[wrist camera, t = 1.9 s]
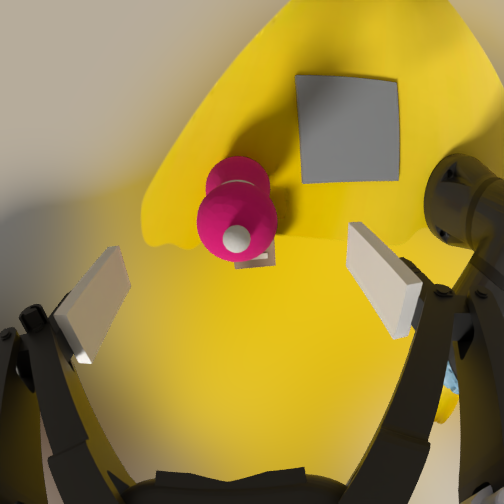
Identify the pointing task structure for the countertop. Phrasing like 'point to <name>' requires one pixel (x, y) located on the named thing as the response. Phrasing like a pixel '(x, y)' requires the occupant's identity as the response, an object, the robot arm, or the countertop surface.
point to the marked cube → (259, 259)
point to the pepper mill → (237, 210)
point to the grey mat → (347, 129)
